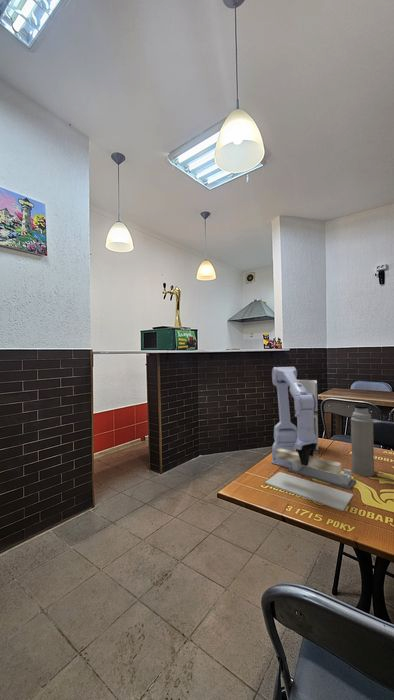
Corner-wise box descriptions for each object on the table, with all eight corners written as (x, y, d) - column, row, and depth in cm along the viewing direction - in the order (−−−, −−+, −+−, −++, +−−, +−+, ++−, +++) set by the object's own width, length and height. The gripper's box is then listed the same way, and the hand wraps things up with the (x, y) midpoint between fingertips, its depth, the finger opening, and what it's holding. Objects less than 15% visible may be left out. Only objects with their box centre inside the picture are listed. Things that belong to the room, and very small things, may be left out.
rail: (275, 457, 110) (275, 450, 110) (279, 455, 112) (279, 448, 112) (338, 474, 94) (338, 465, 94) (341, 471, 96) (341, 463, 96)
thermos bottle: (374, 470, 117) (372, 404, 117) (374, 478, 111) (372, 408, 111) (352, 466, 122) (351, 402, 122) (351, 473, 115) (349, 406, 115)
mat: (265, 483, 108) (264, 482, 108) (279, 473, 117) (279, 471, 117) (343, 511, 89) (343, 509, 89) (353, 496, 98) (353, 494, 98)
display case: (297, 444, 151) (295, 379, 151) (318, 446, 147) (316, 380, 147) (295, 451, 141) (294, 382, 141) (318, 454, 137) (316, 383, 137)
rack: (288, 471, 119) (287, 460, 119) (295, 465, 125) (295, 455, 125) (350, 489, 102) (349, 477, 102) (355, 481, 108) (355, 470, 108)
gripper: (308, 433, 95) (309, 473, 95) (323, 424, 106) (324, 460, 106) (289, 429, 100) (289, 467, 100) (305, 421, 110) (305, 455, 111)
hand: (306, 463), depth 103 cm, fingers closed on rail, 3 cm apart
